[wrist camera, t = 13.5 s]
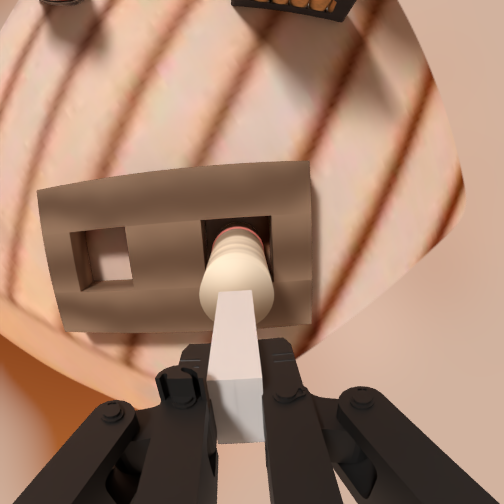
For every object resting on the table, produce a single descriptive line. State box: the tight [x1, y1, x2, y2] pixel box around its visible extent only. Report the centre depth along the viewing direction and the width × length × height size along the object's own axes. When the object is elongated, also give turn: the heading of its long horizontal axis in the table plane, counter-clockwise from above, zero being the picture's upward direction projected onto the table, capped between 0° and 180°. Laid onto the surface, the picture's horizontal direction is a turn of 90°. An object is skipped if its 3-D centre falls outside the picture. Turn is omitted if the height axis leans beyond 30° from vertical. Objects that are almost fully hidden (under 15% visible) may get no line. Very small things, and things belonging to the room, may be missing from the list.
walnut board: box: [37, 161, 312, 333], centre depth 27 cm, size 14×24×3 cm, turn 93°
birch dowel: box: [199, 222, 274, 324], centre depth 23 cm, size 4×4×12 cm
